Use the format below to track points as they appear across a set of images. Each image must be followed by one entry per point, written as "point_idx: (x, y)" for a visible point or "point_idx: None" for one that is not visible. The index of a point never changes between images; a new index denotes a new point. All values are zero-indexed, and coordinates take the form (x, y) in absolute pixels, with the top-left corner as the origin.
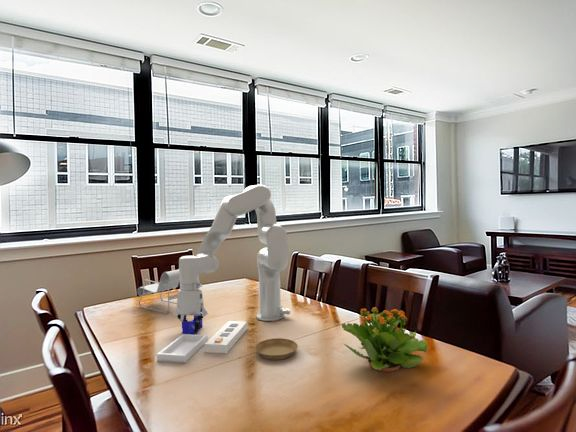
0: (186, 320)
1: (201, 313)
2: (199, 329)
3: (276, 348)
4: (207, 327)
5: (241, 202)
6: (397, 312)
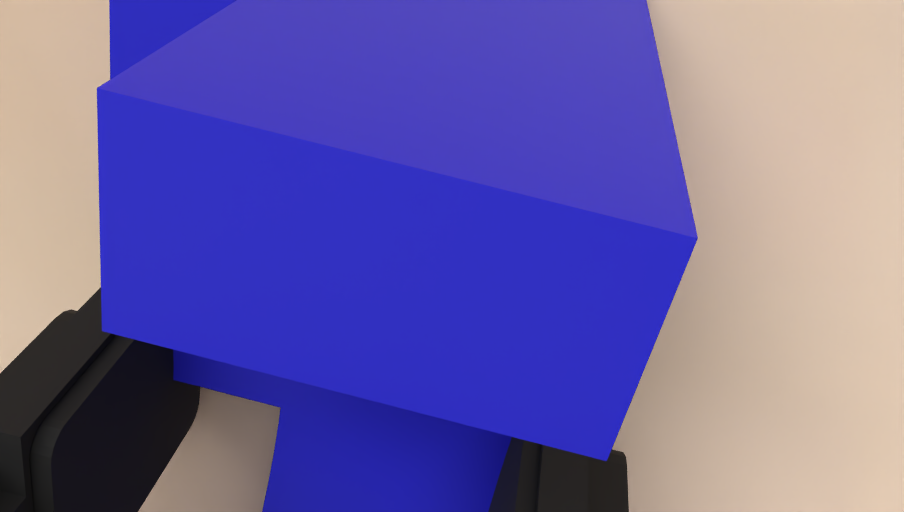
0: (35, 475)
1: (657, 335)
2: None
3: None
4: (839, 59)
5: None
6: None
